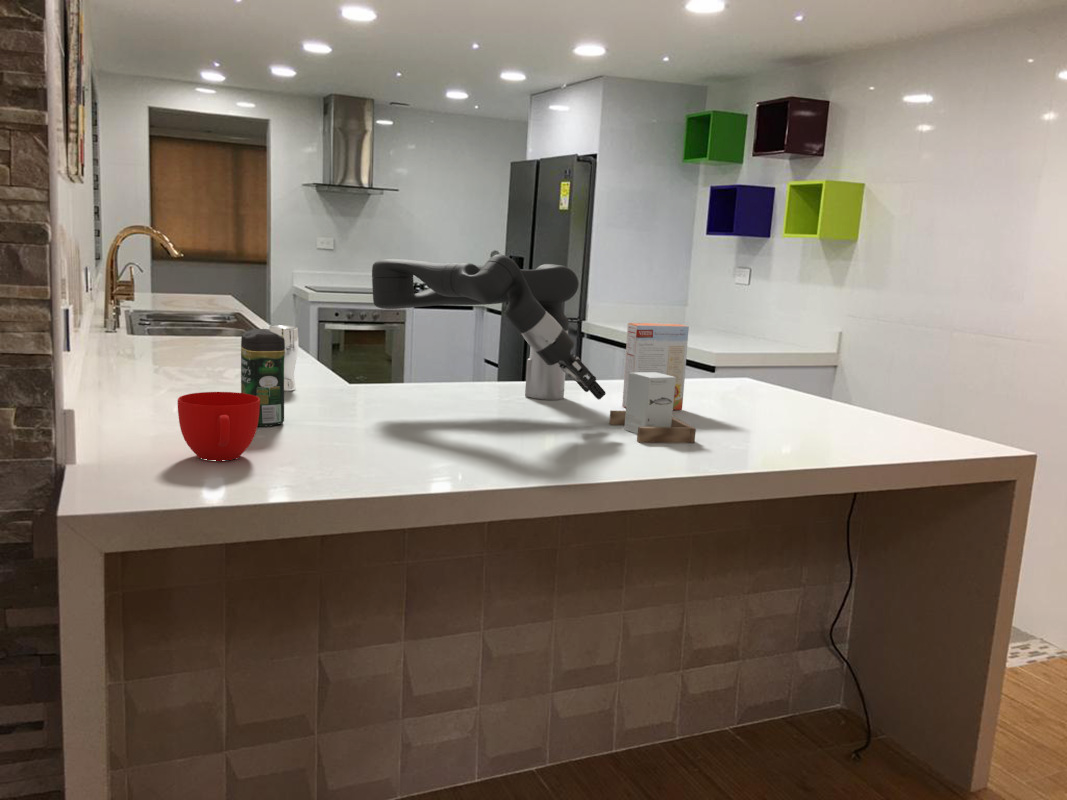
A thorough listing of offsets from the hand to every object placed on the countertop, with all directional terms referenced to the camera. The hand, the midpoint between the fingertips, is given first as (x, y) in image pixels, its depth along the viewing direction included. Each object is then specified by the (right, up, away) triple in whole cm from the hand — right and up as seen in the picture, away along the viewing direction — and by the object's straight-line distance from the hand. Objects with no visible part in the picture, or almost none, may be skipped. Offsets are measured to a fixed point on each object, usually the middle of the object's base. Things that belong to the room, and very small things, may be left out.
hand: (595, 392), depth 195 cm
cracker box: (+16, -4, +30) cm, 34 cm away
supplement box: (+11, -9, +1) cm, 14 cm away
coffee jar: (-67, -6, -13) cm, 69 cm away
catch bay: (+11, -9, 0) cm, 14 cm away
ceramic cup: (-65, -12, -43) cm, 79 cm away
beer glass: (-74, +1, +24) cm, 77 cm away
